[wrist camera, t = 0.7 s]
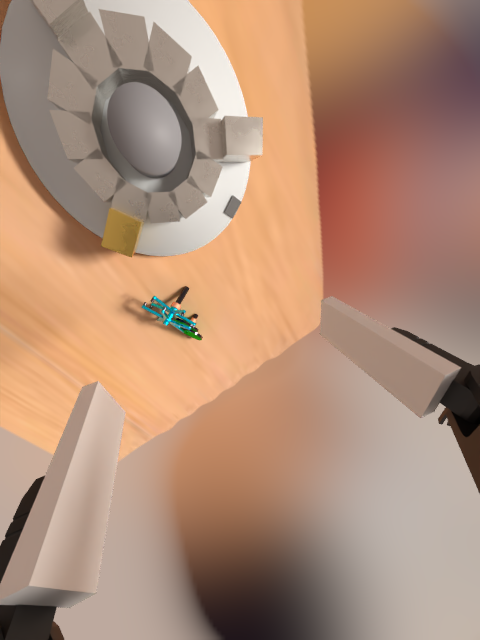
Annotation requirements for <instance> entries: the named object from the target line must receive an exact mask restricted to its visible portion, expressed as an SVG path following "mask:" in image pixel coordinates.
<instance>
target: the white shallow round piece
mask: <svg viewBox="0 0 480 640" xmlns="http://www.w3.org/2000/svg"><path fill="white" fill-rule="evenodd" d="M84 3H85V5H86V8H87V10H88V12H91V14H92V16H93V17H94V19H95V20H96V22H97V24H98V25H99V27H100V28H101V30H102V32H103V33H104V29H103V25H102V20H101V16H100V12H99V9H102V10H108V11H114V12H120V13H126V14H132V15H138V16H144V17H145V23H146V29H147V34H148V40H150V35H151V31H152V26H153V22H155V23H156V24H157V25H158V26H159V27H160V28H161V29H162V30H164V31H165V32H166V33H167V34H168V35H169V36H170V37H171V38H172V39H173V40H175V41H176V42H177V43H178V44H179V45H180V46H181V47H182V48H183V49H184V50H185V51H187V52H188V53H189V54H190V55H191V56H192V59H191V64H190V69H189V72H191V71H192V70H193V69H194V68H195V67H197V66H199V68H200V70H201V72H202V75H203V77H204V79H205V81H206V83H207V85H208V88H209V90H210V92H211V94H212V96H213V98H214V100H215V103H216V105H217V107H218V109H219V110H218V112H217V113H216V115H215V117H214V118H215V119H221V120H222V119H223V117H224V116H241V117H248V115H247V110H246V106H245V102H244V98H243V94H242V91H241V88H240V86H239V83H238V80H237V77H236V74H235V72H234V70H233V68H232V65H231V63H230V61H229V59H228V56H227V55H226V53H225V51H224V49H223V48H222V46H221V44H220V42H219V41H218V39H217V37H216V36H215V34H214V33H213V31H212V30H211V28H210V27H209V26H208V24H207V23H206V21H205V20H204V18H203V17H202V16H201V15H200V14H199V13H198V12H197V10H196V9H195V8H194V7H193V6H192V5H191V3H190V2H189V1H188V0H84ZM104 35H105V33H104ZM53 49H54V50H56V51H57V52H59V53H60V54H62V55H63V56H64V57H66V58H67V59H69V60H70V58H69V57H68V55H67V54H66V52H65V51H64V49H63V48H62V46H61V45H60V43H59V42H58V40H57V38H56V36H55V35H54V33H53V32H52V31H51V29H50V28H49V26H48V25H47V24H46V22H45V21H44V19H43V18H42V17H41V15H40V14H39V12H38V11H37V10H36V8H35V7H34V5H33V4H32V3H31V1H30V0H12V1H11V3H10V4H9V7H8V10H7V13H6V17H5V20H4V23H3V26H2V33H1V42H0V77H1V84H2V90H3V96H4V101H5V104H6V108H7V112H8V115H9V119H10V122H11V125H12V127H13V130H14V132H15V135H16V137H17V140H18V142H19V144H20V146H21V148H22V150H23V152H24V154H25V156H26V158H27V160H28V162H29V163H30V165H31V167H32V168H33V170H34V171H35V173H36V174H37V176H38V177H39V179H40V180H41V182H42V183H43V185H44V186H45V187H46V188H47V190H48V191H49V192H50V193H51V195H52V196H53V197H54V198H55V199H56V201H57V202H58V203H59V204H60V205H61V206H62V207H63V208H64V209H65V210H66V211H67V212H68V213H69V214H70V215H71V216H73V217H74V218H75V219H76V220H77V221H78V222H79V223H81V224H82V225H83V226H85V227H86V228H87V229H89V230H90V231H92V232H93V233H94V234H96V235H98V236H99V237H101V238H103V235H104V230H105V226H106V222H107V217H108V213H109V208H112V207H111V205H112V201H113V200H112V201H111V202H104V201H103V200H102V199H101V198H100V197H99V196H98V195H97V193H96V192H95V191H94V190H93V189H92V188H91V187H90V186H89V185H88V184H87V183H86V181H85V180H84V179H83V178H82V177H81V176H80V175H79V174H78V173H77V172H76V170H75V169H74V167H75V166H76V165H77V163H75V162H73V161H71V160H69V159H67V156H66V153H65V151H64V148H63V145H62V143H61V140H60V138H59V135H58V132H57V130H56V127H55V124H54V122H53V119H52V116H51V114H50V111H49V110H59V109H58V108H57V107H56V106H55V105H54V104H53V103H52V102H50V101H49V100H48V99H47V97H48V88H49V79H50V70H51V61H52V52H53ZM70 61H71V60H70ZM100 131H101V134H102V137H103V141H104V144H105V148H106V151H107V154H108V158H109V160H110V161H111V162H112V163H113V165H114V166H115V167H116V168H117V170H118V171H119V172H120V173H121V175H122V176H123V177H124V178H125V180H126V181H127V182H129V183H131V184H133V185H134V186H136V187H138V188H140V189H142V190H144V191H146V192H148V193H149V192H171V191H172V190H174V189H175V188H176V187H177V186H179V185H180V184H181V183H183V182H184V181H185V180H186V178H187V175H188V172H189V169H190V166H191V163H192V160H193V157H192V149H191V141H190V133H189V130H188V129H187V127H186V125H185V123H184V122H183V120H182V118H181V116H180V114H179V113H178V111H177V109H176V107H175V105H173V104H172V103H171V102H169V101H168V100H167V99H166V98H164V97H163V96H162V95H161V94H160V93H159V92H158V91H156V90H155V89H153V88H152V87H150V86H148V85H146V84H143V83H138V82H129V83H125V84H123V85H121V86H120V87H118V88H117V89H116V90H115V91H114V92H113V94H112V95H111V96H110V97H109V98H108V99H107V100H106V101H105V105H104V110H103V116H102V121H101V126H100ZM218 164H219V165H221V166H222V170H221V173H220V175H219V178H218V181H217V183H216V186H215V188H214V191H213V194H212V196H211V197H208V198H206V197H205V196H204V197H205V199H206V200H207V203H206V204H205V205H203V206H202V207H201V208H199V209H198V210H197V211H196V212H194V213H193V214H192V215H191V216H189V217H188V218H187V219H185V218H183V216H182V215H181V213H180V212H179V211H178V212H179V217H180V221H179V222H165V223H151V222H150V218H149V214H148V216H147V219H146V221H145V222H144V225H143V228H142V232H141V235H140V239H139V242H138V246H137V249H136V251H135V252H136V253H140V254H145V255H152V256H174V255H180V254H185V253H188V252H191V251H194V250H196V249H198V248H200V247H202V246H204V245H206V244H207V243H209V242H210V241H212V240H213V239H215V238H216V237H217V236H218V235H219V234H220V233H221V232H222V231H223V230H224V229H225V228H226V227H227V225H228V224H229V223H230V221H231V220H232V218H233V217H234V215H235V214H236V212H237V210H238V208H239V206H240V204H241V201H242V198H243V196H244V193H245V190H246V185H247V181H248V177H249V169H250V162H219V163H218Z"/></svg>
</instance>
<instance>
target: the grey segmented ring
mask: <svg viewBox="0 0 480 640" xmlns="http://www.w3.org/2000/svg"><path fill="white" fill-rule="evenodd" d="M30 1H31V3H32V4H33V5H34V7H35V8H36V10H37V11H38V12H39V14H40V15H41V17H42V18H43V19H44V21H45V22H46V24H47V25H48V26H49V28H50V29H51V31H52V32H53V33H54V35H55V36H56V38H57V40H58V42H59V43H60V45H61V46H62V48H63V49H64V51H65V52H66V54H67V55H68V57H69V58H70V60H71V61H70V60H69V59H67V58H66V57H64V56H63V55H62V54H60V53H59V52H57V51H56V50H54V49H53V52H52V61H51V70H50V79H49V88H48V97H47V99H48V100H49V101H50V102H52V103H53V104H54V105H55V106H56V107H57V108H58V109H59V110H49V111H50V114H51V116H52V119H53V122H54V124H55V127H56V130H57V132H58V135H59V138H60V140H61V143H62V145H63V148H64V151H65V153H66V156H67V159H69V160H71V161H73V162H75V163H77V165H76V166H75V167H74V169H75V170H76V172H77V173H78V174H79V175H80V176H81V177H82V178H83V179H84V180H85V181H86V183H87V184H88V185H89V186H90V187H91V188H92V189H93V190H94V191H95V192H96V193H97V195H98V196H99V197H100V198H101V199H102V200H103V201H104V202H111V201H112V200H113V201H112V205H111V207H112V208H109V213H108V217H107V222H106V226H105V230H104V235H103V239H102V244H101V246H102V247H105V248H107V249H110V250H113V251H115V252H118V253H121V254H123V255H126V256H129V257H132V256H133V255H134V253H135V251H136V249H137V246H138V242H139V239H140V235H141V232H142V228H143V225H144V222H145V221H146V219H147V216H148V214H149V218H150V222H151V223H165V222H179V221H180V217H179V212H180V213H181V215H182V216H183V218H185V219H187V218H188V217H189V216H191V215H192V214H193V213H194V212H196V211H197V210H198V209H199V208H201V207H202V206H203V205H205V204H206V203H207V200H206V199H205V197H206V198H208V197H211V196H212V194H213V191H214V188H215V186H216V183H217V181H218V178H219V175H220V173H221V170H222V166H221V165H219V164H218V163H219V162H250V161H252V160H254V159H256V158H258V157H260V156H262V137H263V118H259V117H241V116H224V117H223V119H222V120H221V119H215V118H214V117H215V115H216V113H217V112H218V110H219V109H218V107H217V105H216V103H215V100H214V98H213V96H212V94H211V92H210V90H209V88H208V85H207V83H206V81H205V79H204V77H203V75H202V72H201V70H200V68H199V66H197V67H195V68H194V69H193V70H192V71H191V72H189V69H190V64H191V59H192V56H191V55H190V54H189V53H188V52H187V51H185V50H184V49H183V48H182V47H181V46H180V45H179V44H178V43H177V42H176V41H175V40H173V39H172V38H171V37H170V36H169V35H168V34H167V33H166V32H165V31H164V30H162V29H161V28H160V27H159V26H158V25H157V24H156V23H155V22H153V26H152V31H151V35H150V40H148V34H147V29H146V23H145V17H144V16H138V15H132V14H126V13H120V12H114V11H108V10H102V9H99V12H100V16H101V20H102V25H103V29H104V33H105V35H104V33H103V32H102V30H101V28H100V27H99V25H98V24H97V22H96V20H95V19H94V17H93V16H92V14H91V12H88V10H87V8H86V5H85V3H84V0H30ZM129 82H138V83H143V84H146V85H148V86H150V87H152V88H153V89H155V90H156V91H158V92H159V93H160V94H161V95H162V96H163V97H164V98H166V99H167V100H168V101H169V102H171V103H172V104H173V105H175V107H176V109H177V111H178V113H179V114H180V116H181V118H182V120H183V122H184V123H185V125H186V127H187V129H188V130H189V133H190V141H191V149H192V157H193V160H192V163H191V166H190V169H189V172H188V175H187V178H186V180H185V181H184V182H183V183H181V184H180V185H179V186H177V187H176V188H175V189H174V190H172V191H171V192H149V193H148V192H146V191H144V190H142V189H140V188H138V187H136V186H134V185H133V184H131V183H129V182H127V181H126V180H125V178H124V177H123V176H122V175H121V173H120V172H119V171H118V170H117V168H116V167H115V166H114V165H113V163H112V162H111V161H110V160H109V158H108V154H107V151H106V148H105V144H104V141H103V137H102V134H101V131H100V126H101V121H102V116H103V110H104V105H105V101H106V100H107V99H108V98H109V97H110V96H111V95H112V94H113V92H114V91H115V90H116V89H117V88H118V87H120V86H121V85H123V84H125V83H129ZM204 196H205V197H204ZM178 211H179V212H178Z"/></svg>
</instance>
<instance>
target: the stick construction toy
mask: <svg viewBox="0 0 480 640" xmlns="http://www.w3.org/2000/svg"><path fill="white" fill-rule="evenodd" d="M188 290H189V288H188V287H187V286H185V287H184V289H183V291H182V292H181V294H180V295H179V297H178V299H177V300H176V302H173V303H172V305H171V307H169V306H167V305H166V304H165V303H163V302H162V301H161V300H159V299H158V298H157V297H156V296H153V298H152V299H151V302H152V304H151V305H150V307H149V308H150V309H149V308H147V307H146V305H147V303H146V302H145V303H144V304H143V306H142V308H143V309H145V310H147V311H149V312H150V313H152V314H154V315H156V316H158V319H157V321H162V322H163V324H164V325H166V326H168V324H169V323H170V324H171V325H173V326H174V327H175V328H177V329H178V330H180V331H181V332H183V333H185V334H186V335H188V336H190V337H192V338H195V339H197V340H202V338H203V337H202V336H201V335H200V334H198V333H197V332H198V329H197V328H196V327H195V325H196V323H195V322H196V318H197V317H198V315H197V314H195V315H194V317H193V318H191V320H189V319H187V318H186V317H184V314H185V312H186V311H185V310H179V309H180V308H181V305H180V304H181V302H182V300H183V299H184V297H185V295H186V294H187V292H188ZM154 300H155V301H157V302H158V303H159V304H160V305H162V306H163V307H162V306H160V305H157V304H154V303H153V302H154ZM153 306H154V307H156V308H159V309H162V311H161V313H162V315H161V314H159V313H157V312H155V311H153V310H151V309H152V307H153ZM165 311H167V312H169V314H168V315H167V314H166V312H165ZM180 314H181V315H180ZM172 317H173V318H174V320H171V319H172ZM177 317H179V318H181V319H179V318H177ZM182 319H183V320H182ZM184 320H185V321H184ZM186 321H187V322H186ZM188 322H189V323H188ZM179 326H180V327H179Z"/></svg>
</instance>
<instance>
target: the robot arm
mask: <svg viewBox="0 0 480 640" xmlns="http://www.w3.org/2000/svg"><path fill="white" fill-rule="evenodd" d="M320 335H321V336H322V337H323V338H325V339H326V340H327V341H328V342H329V343H331V344H332V345H333V346H334V347H335V348H337V349H338V350H339V351H340V352H341V353H343V354H344V355H345V356H346V357H348V358H349V359H350V360H351V361H352V362H353V363H355V364H356V365H357V366H358V367H359V368H361V369H362V370H363V371H364V372H366V373H367V374H368V375H369V376H370V377H372V378H373V379H374V380H375V381H376V382H378V383H379V384H380V385H381V386H382V387H384V388H385V389H386V390H387V391H388V392H390V393H391V394H392V395H393V396H394V397H396V398H397V399H398V400H399V401H400V402H402V403H403V404H404V405H405V406H406V407H408V408H409V409H410V410H411V411H412V412H414V413H415V414H416V415H417V416H418V417H420V418H423V417H425V416H426V415H428V414H430V413H432V412H434V411H435V409H436V408H437V406H438V404H439V403H441V404H443V405H444V406H445V407H446V408H445V410H444V411H443V412H442V414H441V415H440V417H439V418H438V421H439V424H443V422H444V421H445V419H446V418H447V419H448V423H447V425H448V426H451V428H452V430H453V433H454V435H455V437H456V440H457V442H458V444H459V447H460V449H461V451H462V453H463V456H464V458H465V461H466V463H467V465H468V467H469V469H470V472H471V474H472V477H473V479H474V481H475V484H476V486H477V488H478V491H479V493H480V365H476V366H474V365H471V364H469V363H467V362H465V361H463V360H461V359H459V358H457V357H456V356H453V355H452V354H450V353H448V352H446V351H444V350H442V349H440V348H438V347H436V346H434V345H433V344H429V343H428V342H427V341H425V340H423V339H419V337H417V336H415V335H413V334H412V333H410V332H408V331H405V330H401V329H398V328H391V329H390V328H389V327H387V326H385V325H383V324H381V323H379V322H378V321H376V320H374V319H372V318H370V317H368V316H367V315H365V314H363V313H361V312H360V311H357V310H356V309H354V308H352V307H350V306H349V305H347V304H345V303H343V302H341V301H340V300H338V299H336V298H334V297H332V296H331V297H329V298H326V299H323V300H321V322H320ZM124 418H125V411H124V410H123V409H122V407H121V406H120V405H119V404H118V403H117V402H116V401H115V400H114V398H113V397H112V396H111V395H110V394H109V393H108V392H107V390H106V389H105V388H104V387H103V386H102V385H101V384H100V383H99V381H98V382H95V383H92V384H89V385H87V386H84V387H82V389H81V391H80V393H79V396H78V398H77V401H76V403H75V405H74V408H73V410H72V413H71V415H70V417H69V420H68V422H67V425H66V427H65V429H64V432H63V434H62V437H61V439H60V441H59V444H58V446H57V449H56V451H55V453H54V456H53V458H52V461H51V463H50V466H49V468H48V470H47V473H46V475H45V476H43V477H40V478H38V479H36V480H35V482H34V483H33V484H32V486H31V487H30V488H29V490H28V492H27V493H26V494H25V495H24V497H23V498H22V500H21V502H20V505H19V507H18V509H17V511H16V513H15V515H14V518H13V522H12V523H11V524H10V526H9V528H8V530H7V533H6V535H5V537H6V538H5V540H3V541H2V543H1V546H0V640H64V637H63V635H62V633H61V630H60V628H59V626H58V625H57V624H56V623H55V622H54V621H53V619H54V615H55V611H56V607H64V608H70V607H72V606H74V605H76V604H77V603H79V602H81V601H83V600H85V599H87V598H89V597H91V596H92V595H94V594H96V591H97V585H98V579H99V573H100V567H101V561H102V554H103V548H104V542H105V536H106V530H107V523H108V517H109V511H110V504H111V498H112V492H113V485H114V480H115V474H116V468H117V461H118V455H119V449H120V443H121V437H122V431H123V424H124Z"/></svg>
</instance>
